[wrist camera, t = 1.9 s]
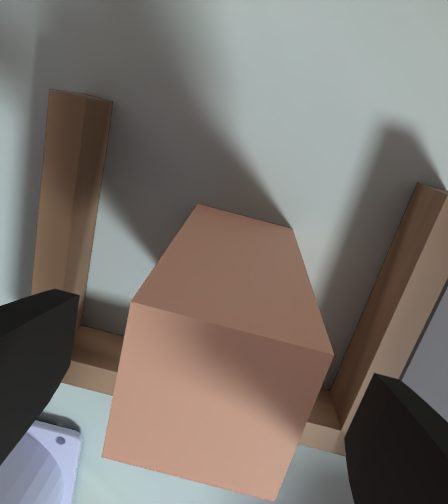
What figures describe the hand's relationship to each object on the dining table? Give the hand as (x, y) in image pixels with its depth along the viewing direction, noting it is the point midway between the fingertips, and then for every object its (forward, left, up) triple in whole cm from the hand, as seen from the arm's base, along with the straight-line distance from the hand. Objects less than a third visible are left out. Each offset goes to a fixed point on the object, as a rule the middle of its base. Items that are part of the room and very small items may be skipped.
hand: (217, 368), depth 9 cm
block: (0, 0, -8) cm, 8 cm away
